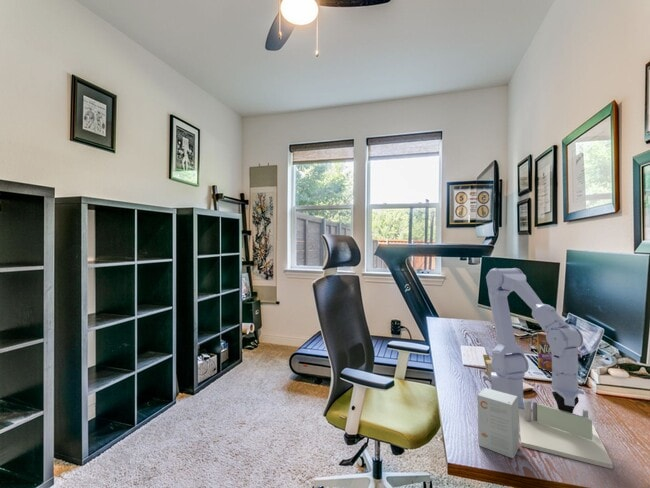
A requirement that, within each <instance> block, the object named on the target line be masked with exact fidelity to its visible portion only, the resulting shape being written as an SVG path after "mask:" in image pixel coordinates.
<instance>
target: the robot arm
mask: <svg viewBox="0 0 650 488" xmlns="http://www.w3.org/2000/svg"><path fill="white" fill-rule="evenodd" d="M485 279H486V280H485V281H486V285H487V290H488V299H489V303H490V309H491V314H492V320H493V324H494V325H493V326H494V331H495V336H496V342H497V345H496V346H495V347H494V348H493V349H492V350H491V354H492V355H491V358H492V366H493V369H494V370H495V372H491V381H490V389H492V390H495V391H499V392H503V393H507V394H511V395H514V396H518V408H519V409H524V400H525V398H524V377H525V374H526V373H527V372H528V370H529V369H530V368H529V366H530V365H529V361H528V359H527V357H526V355H525V352H524V351H525V350H524V349H523V348H521V347H520V346H519V345H517V342H516V337H515V332H514V326H513V322H512V317H511V311H510V305H509V300H508V296H509V295H510V293H513V292H515V293H516V294H517V296H519V298H520V299H521V300H523V302H524V303H525V304H526V305H527V306H528V307H529V308H530V309H531V316H532V318H533V319H534V320H535V321H536V322H537V324H538V325H539V326H540V327H541V329H542V330H543V332H546V334H547V335H546V340H547V342H548V344H549V346H550V351H551V353H552V373H551V380H552V381H551V385H550V386H551V389H552V390H553V391H552V392H551V394H552V396H553V398H554V400H555V402H556V405H557V409H560V410H563V411H566V412H569V413H573V414H574V409H575V407H576V406H577V405H578V404H579V397H578V396H579V394H580V395H584V394H585V391H584V389H583V388H579V357H578V356H579V353H578V348H580V347H582V345H583V344H584V336H583V334H582V332H581V331H580V329H579V328H577V327H575V326H574V325H570V324H569V323H567V322H566V321H565V320H564V319H563V318H562V316H560V315H559V314H558V312H557V311H556V308H555V307H554V306H551V305H550V304H546V303H543V302H542V300H541V299H540V297H539V296H538V295H537V293H536V291H534V289H533V288H532V287H531V285H529V283H528V282H527V275H526V274H524V272H523V271H522V270H521V269H520V268H517V267H512V268H508V267H507V268H497V267H494V268H491V269H489V271H488V272H487V274H486V276H485ZM524 410H525V409H524Z"/></svg>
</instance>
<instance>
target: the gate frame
mask: <svg viewBox="0 0 650 488" xmlns="http://www.w3.org/2000/svg"><path fill="white" fill-rule="evenodd" d="M518 416H519V440H520V446H521V447H525V448H527V449H532V450H537V451H538V452H539V451H540V452H544V453H547V454H551V455H556V456H559V457H564V458H568V459H572V460H576V461H579V462H584V463H587V464H590V465H591V464H592V465H596V466H598V467H599V466H600V467H603V468H608V469H610V470H611V469H612V470H614V464H613V462H612V460H611V457H610V456H609V454H608V452H607V450H606V448H605V446H604V443H603V442H602V440H601V438H600V436H599V433H598V432H597V429H596V428H595V426H594V424H593V423H592V440H589V439H586V438H583V437H580V436H577V435H574V434H571V433H568V432H565V431H562V430H559V429H557V428H554V427H551V426H548V425H545V424H542V423H539V422H537V421H534V420H533V410H532V402H531V401H530V400H528V399H524V409H520V408H518ZM582 416H583V417H586V418H589V410H588V409H585V408H584V409H582Z"/></svg>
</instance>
